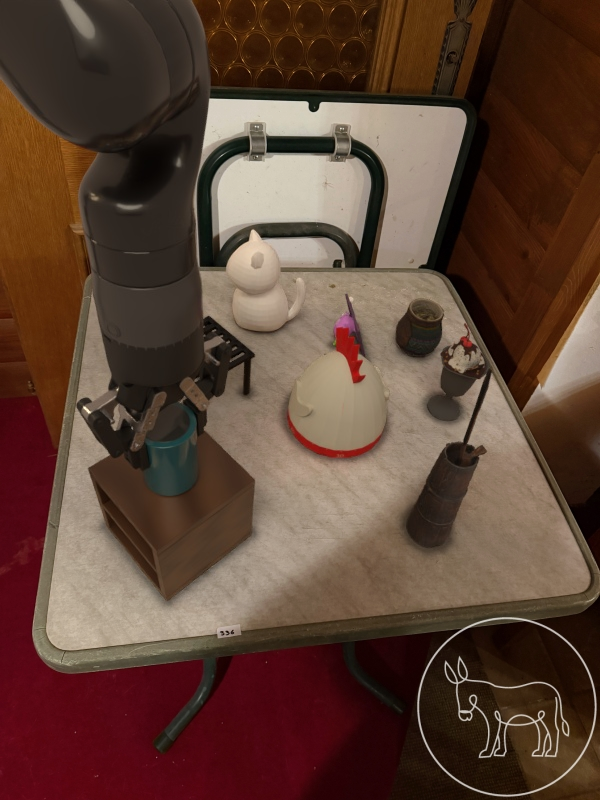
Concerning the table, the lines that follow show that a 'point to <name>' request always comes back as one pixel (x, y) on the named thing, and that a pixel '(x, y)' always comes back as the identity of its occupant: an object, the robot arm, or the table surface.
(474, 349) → the sundae
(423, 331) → the mate gourd
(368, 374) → the kitchen timer
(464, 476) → the butter churn
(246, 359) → the rack
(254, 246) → the cat figurine
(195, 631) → the table surface
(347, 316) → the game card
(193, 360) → the robot arm
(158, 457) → the cup
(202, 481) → the shelf
